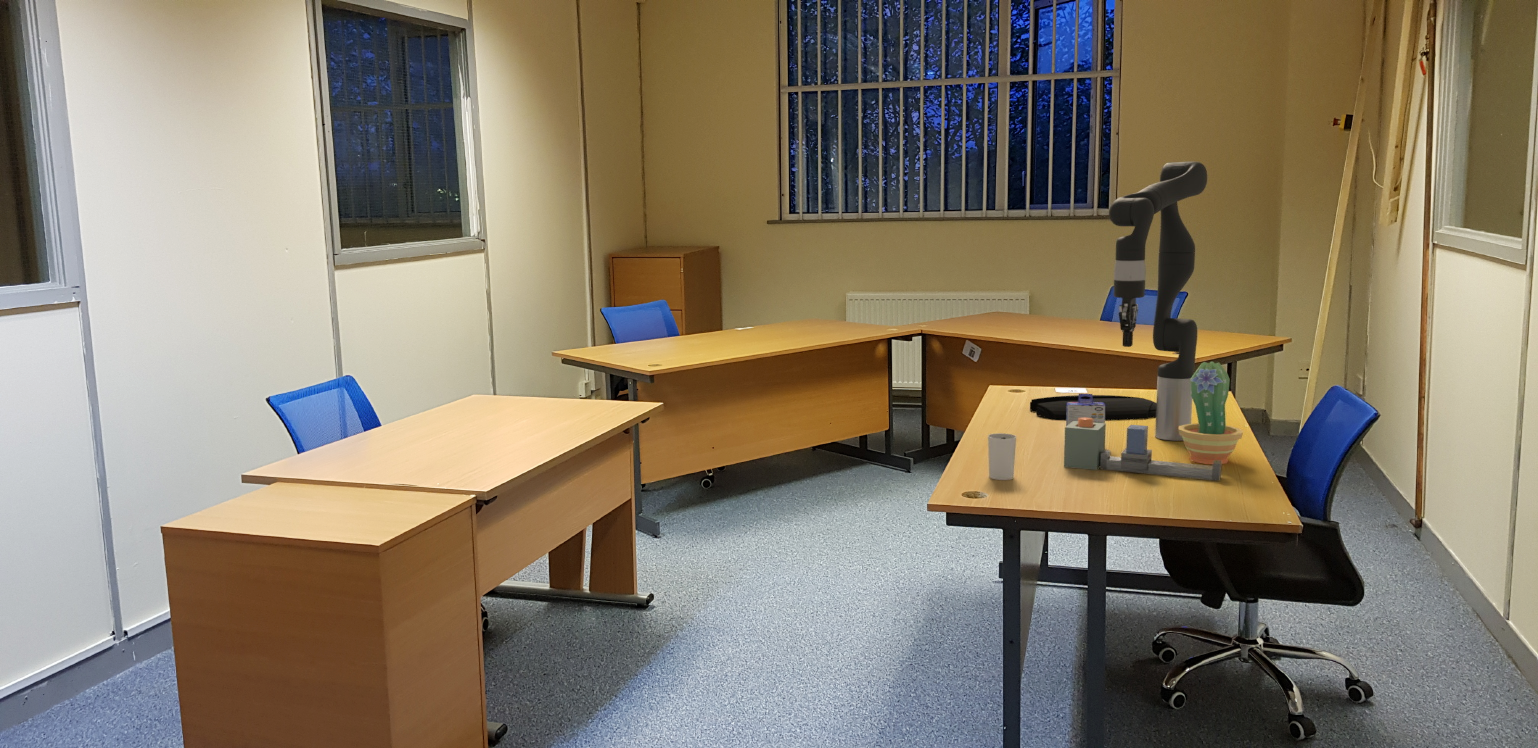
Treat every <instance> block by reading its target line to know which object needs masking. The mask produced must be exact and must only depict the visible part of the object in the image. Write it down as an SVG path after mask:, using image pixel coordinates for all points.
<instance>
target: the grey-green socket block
mask: <svg viewBox="0 0 1538 748" xmlns="http://www.w3.org/2000/svg"><path fill="white" fill-rule="evenodd" d="M1106 428H1107V427H1106V422H1105V423H1094V422H1093V428H1089V427H1078V421H1073V422H1071V423H1070V424H1069V425H1067V426H1066V425H1065V427H1064V446H1063V447H1064V451H1063V452H1064V453H1063V455H1064V456H1063V459H1064V460H1063V467H1064V468H1072V469H1081V470H1089V471H1090V470H1091V471H1092V470H1093V471H1098V470H1099V469H1100V461H1101V452H1102V451H1103V450H1106V430H1107V429H1106Z"/></svg>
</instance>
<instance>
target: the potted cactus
mask: <svg viewBox="0 0 1538 748" xmlns="http://www.w3.org/2000/svg"><path fill="white" fill-rule="evenodd" d="M1190 381H1191V397H1192V402H1193V403H1194V407H1195V411H1196V416H1197V421H1198V423H1191V424H1185V425H1181V426H1179V435H1181V436H1182V438H1183V440H1182V441H1183V444H1184V447H1185V449H1186V450H1187V452H1188V453H1189V454H1190V458H1189V460H1190V461H1192V462H1194V463H1197V464H1202V465H1213V462H1214V460H1221V465H1224V464H1228V461H1229V460H1228V457H1229V456H1230V455H1231V454H1232V453H1233V451H1235V449H1236V446H1237V444H1238V442H1239V440H1242V437H1243V435H1244V431H1243V429H1241V428H1238V427H1235V426H1232V425H1226V424H1227V423H1226V422H1227V421H1226V403H1227V400H1228V396H1229V392H1230V382H1231V381H1230V377H1229V374H1228V372H1227V371H1226V369H1225V368H1224V367H1223V365H1222V364H1221V363H1220V362H1214V361H1210V362H1206V361H1203V362H1201V363H1200V365H1199V366H1198V367H1197V369H1196V370H1195V372H1193V376H1192V377H1191V379H1190Z"/></svg>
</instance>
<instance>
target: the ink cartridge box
mask: <svg viewBox="0 0 1538 748" xmlns="http://www.w3.org/2000/svg"><path fill="white" fill-rule="evenodd" d="M1078 395H1079V399H1078V402H1067V413H1066V420H1065V421H1066V425H1065V427H1066V426H1067V425H1069V424H1070V423H1071V422H1073V421H1078V418H1092V419H1093V422H1094V423H1106V420H1105V404H1104V403H1103V402H1093V396H1092V395H1093V393H1078ZM1083 396H1088V397H1090V399H1081V397H1083Z"/></svg>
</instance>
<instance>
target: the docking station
mask: <svg viewBox="0 0 1538 748" xmlns="http://www.w3.org/2000/svg"><path fill="white" fill-rule="evenodd" d="M1092 396H1093V402H1103V403H1104V404H1105V421H1124V420H1125V421H1129V420H1130V419H1133V420H1145V419H1146V420H1147V419H1148V418H1156V402H1157V401H1153V400H1150V399H1147V398H1145V397H1137V396H1125V395H1109V394H1108V395H1107V394H1105V395H1104V394H1092ZM1078 399H1079V394H1077V395H1075V394H1073V395H1057V396H1048V397H1047V396H1046V397H1040V398H1039V397H1038V398H1033V399H1031V401H1029V411H1031V412H1036V414H1035V415H1036V416H1037V417H1040V418H1046V419H1050V420H1055V421H1066V413H1067V402H1078ZM1081 399H1090V397H1088V396H1083V397H1081Z"/></svg>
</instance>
